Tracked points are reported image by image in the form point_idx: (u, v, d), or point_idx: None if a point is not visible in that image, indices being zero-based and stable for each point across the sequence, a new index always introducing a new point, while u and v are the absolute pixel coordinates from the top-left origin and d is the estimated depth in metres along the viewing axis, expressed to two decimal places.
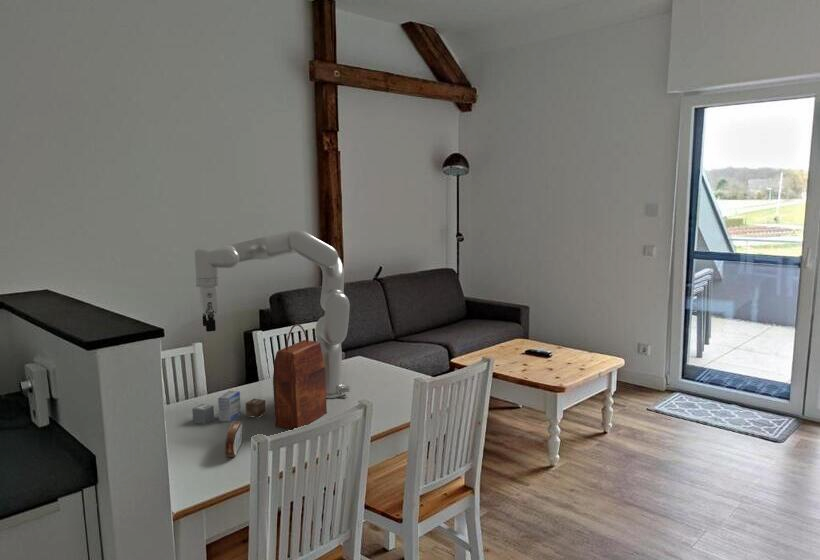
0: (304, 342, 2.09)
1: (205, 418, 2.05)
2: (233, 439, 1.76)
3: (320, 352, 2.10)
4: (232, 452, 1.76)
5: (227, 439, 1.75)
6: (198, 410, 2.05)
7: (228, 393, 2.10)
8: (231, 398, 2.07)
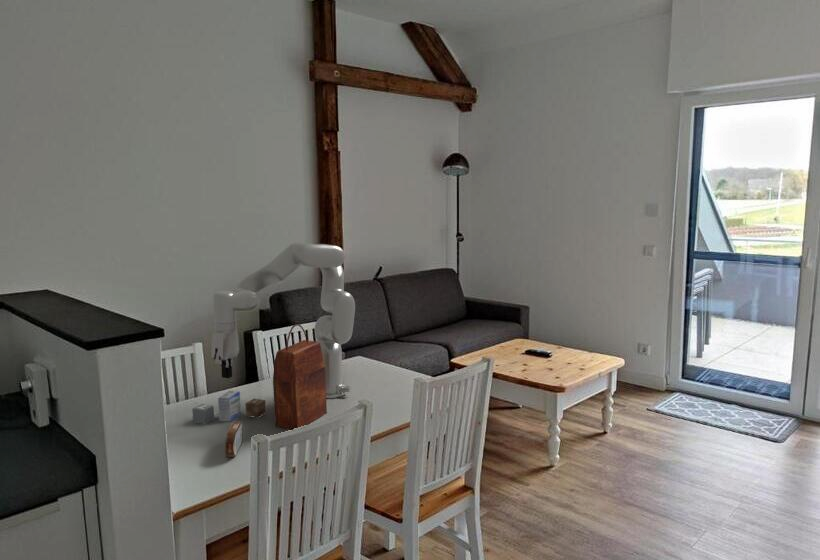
0: (304, 342, 2.09)
1: (205, 418, 2.05)
2: (233, 439, 1.76)
3: (320, 352, 2.10)
4: (232, 452, 1.76)
5: (227, 439, 1.75)
6: (198, 410, 2.05)
7: (228, 393, 2.10)
8: (231, 398, 2.07)
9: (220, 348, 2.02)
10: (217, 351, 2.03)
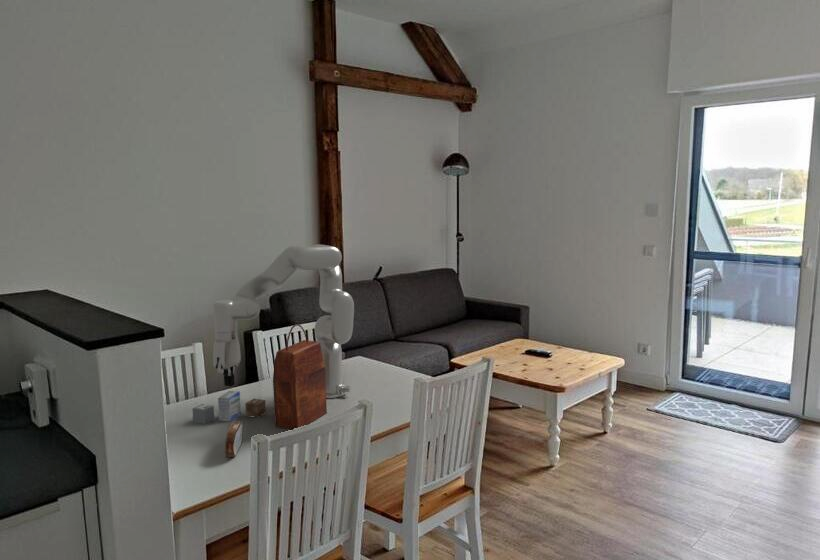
0: (304, 342, 2.09)
1: (205, 418, 2.05)
2: (233, 439, 1.76)
3: (320, 352, 2.10)
4: (232, 452, 1.76)
5: (227, 439, 1.75)
6: (198, 410, 2.05)
7: (228, 393, 2.10)
8: (231, 398, 2.07)
9: (221, 357, 2.02)
10: (219, 360, 2.04)
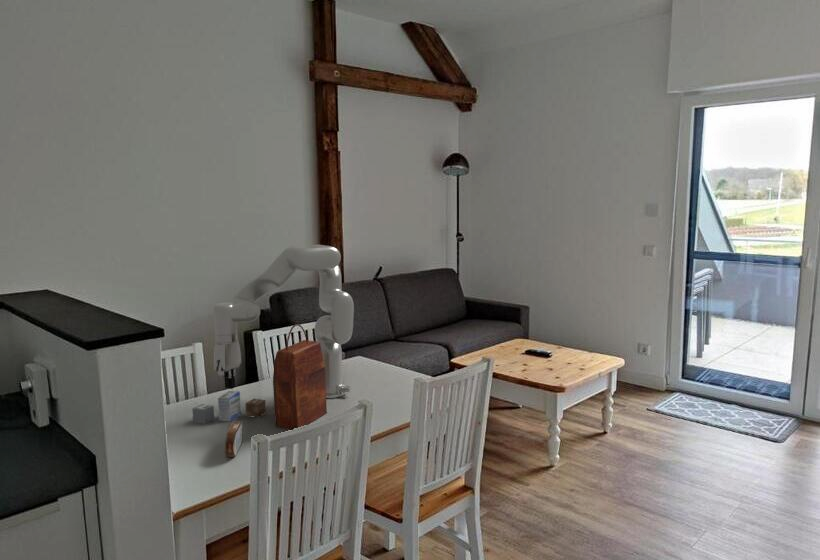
0: (304, 342, 2.09)
1: (205, 418, 2.05)
2: (233, 439, 1.76)
3: (320, 352, 2.10)
4: (232, 452, 1.76)
5: (227, 439, 1.75)
6: (198, 410, 2.05)
7: (228, 393, 2.10)
8: (231, 398, 2.07)
9: (222, 359, 2.03)
10: (219, 363, 2.04)
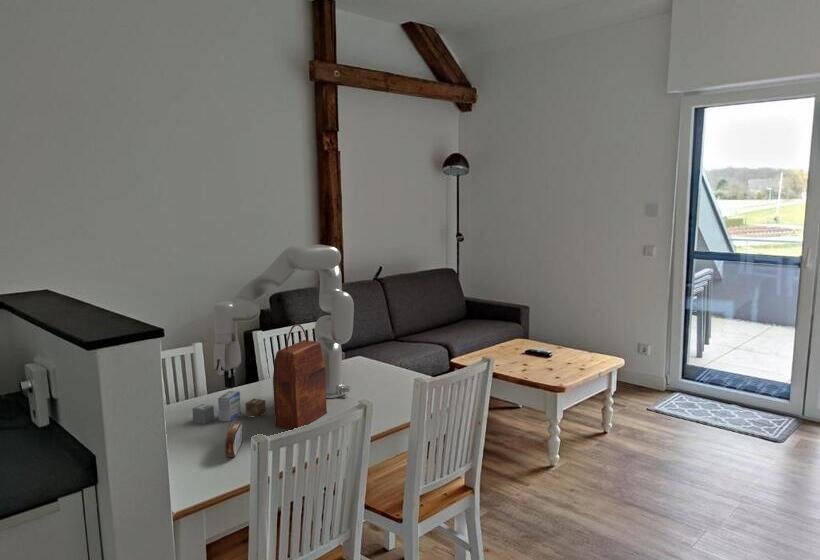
0: (304, 342, 2.09)
1: (205, 418, 2.05)
2: (233, 439, 1.76)
3: (320, 352, 2.10)
4: (232, 452, 1.76)
5: (227, 439, 1.75)
6: (198, 410, 2.05)
7: (228, 393, 2.10)
8: (231, 398, 2.07)
9: (221, 359, 2.03)
10: (219, 362, 2.04)
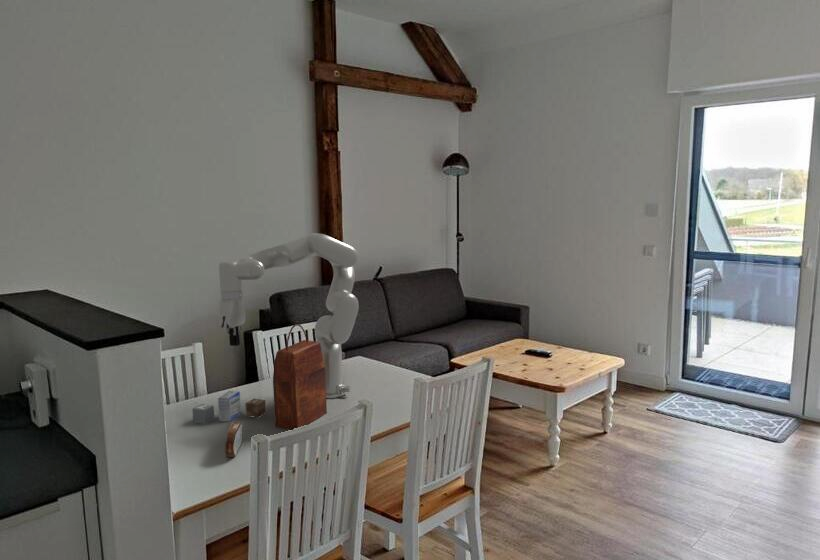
0: (304, 342, 2.09)
1: (205, 418, 2.05)
2: (233, 439, 1.76)
3: (320, 352, 2.10)
4: (232, 452, 1.76)
5: (227, 439, 1.75)
6: (198, 410, 2.05)
7: (228, 393, 2.10)
8: (231, 398, 2.07)
9: (227, 316, 2.06)
10: (225, 319, 2.07)
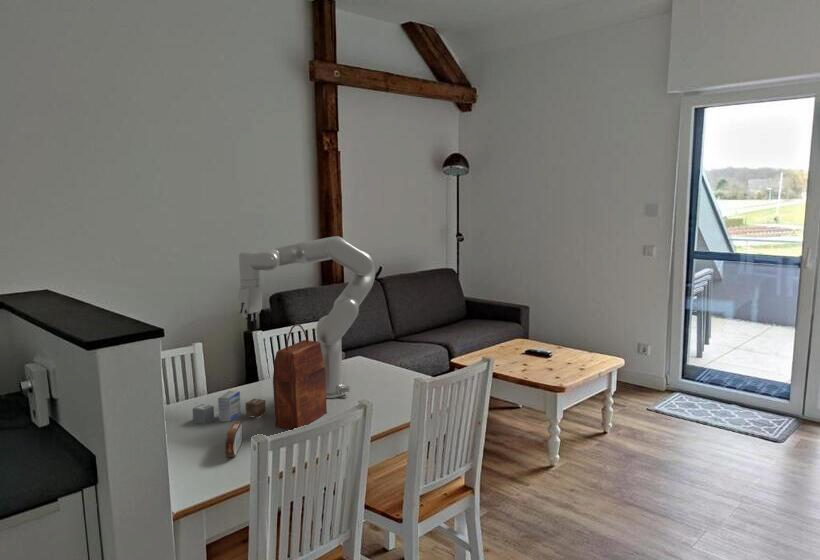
0: (304, 342, 2.09)
1: (205, 418, 2.05)
2: (233, 439, 1.76)
3: (320, 352, 2.10)
4: (232, 452, 1.76)
5: (227, 439, 1.75)
6: (198, 410, 2.05)
7: (228, 393, 2.10)
8: (231, 398, 2.07)
9: (245, 302, 2.21)
10: (243, 305, 2.22)
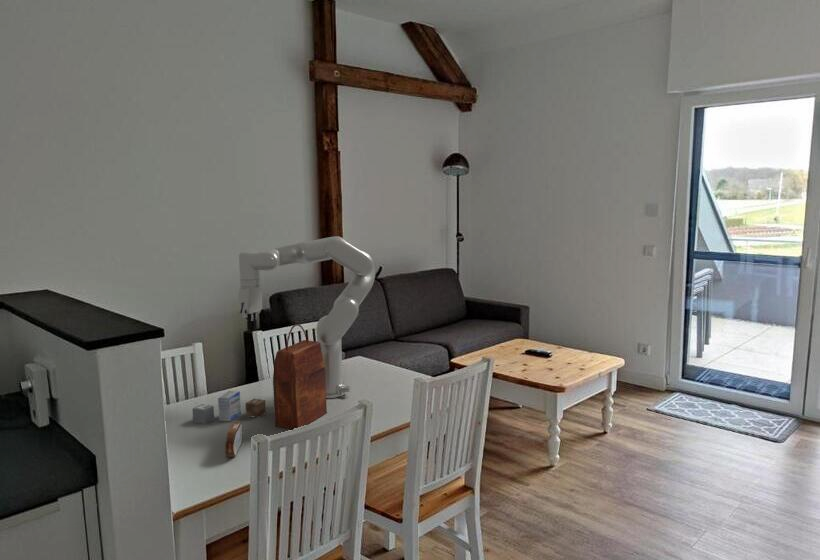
0: (304, 342, 2.09)
1: (205, 418, 2.05)
2: (233, 439, 1.76)
3: (320, 352, 2.10)
4: (232, 452, 1.76)
5: (227, 439, 1.75)
6: (198, 410, 2.05)
7: (228, 393, 2.10)
8: (231, 398, 2.07)
9: (245, 302, 2.21)
10: (243, 305, 2.22)
